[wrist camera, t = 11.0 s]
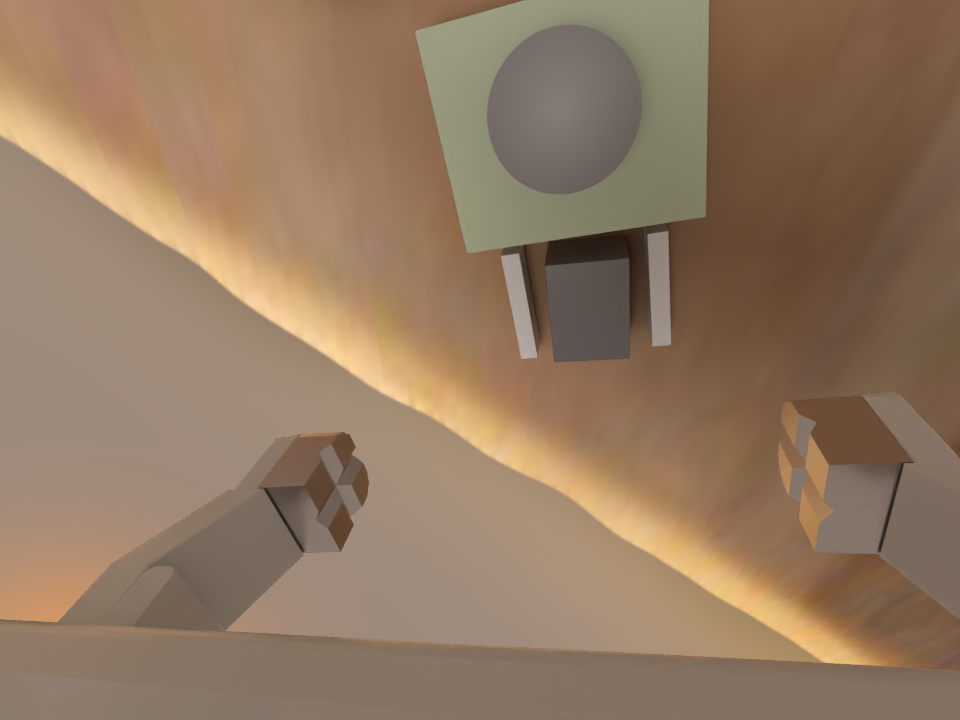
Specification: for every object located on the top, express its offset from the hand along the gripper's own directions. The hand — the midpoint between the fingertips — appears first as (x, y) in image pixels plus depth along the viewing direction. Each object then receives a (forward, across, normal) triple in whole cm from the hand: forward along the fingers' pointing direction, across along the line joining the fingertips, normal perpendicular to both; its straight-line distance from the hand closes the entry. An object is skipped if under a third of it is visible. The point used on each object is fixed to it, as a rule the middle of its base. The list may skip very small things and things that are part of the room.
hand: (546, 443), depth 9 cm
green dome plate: (+26, 0, -2) cm, 26 cm away
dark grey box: (+26, 0, -8) cm, 28 cm away
